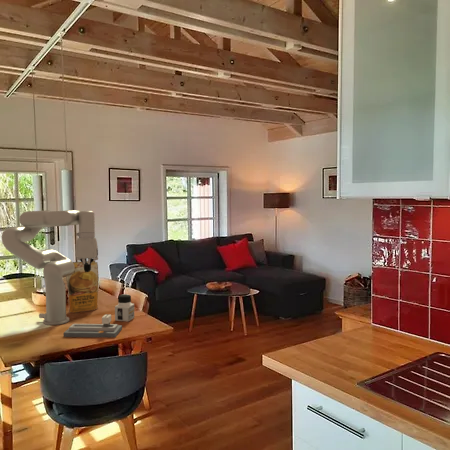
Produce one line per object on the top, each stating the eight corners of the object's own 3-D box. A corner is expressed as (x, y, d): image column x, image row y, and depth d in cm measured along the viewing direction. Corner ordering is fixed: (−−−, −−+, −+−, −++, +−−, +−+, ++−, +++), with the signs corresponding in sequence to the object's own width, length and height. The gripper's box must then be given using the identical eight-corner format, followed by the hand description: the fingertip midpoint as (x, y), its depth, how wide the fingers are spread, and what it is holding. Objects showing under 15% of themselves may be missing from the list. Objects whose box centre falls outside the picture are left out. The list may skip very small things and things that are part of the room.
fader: (102, 330, 197) (101, 317, 197) (105, 326, 202) (105, 314, 202) (108, 330, 197) (108, 317, 197) (111, 326, 202) (111, 314, 202)
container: (128, 321, 218) (128, 297, 218) (114, 320, 220) (114, 296, 219) (134, 317, 226) (134, 293, 225) (121, 316, 228) (120, 292, 227)
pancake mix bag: (64, 311, 237) (63, 262, 235) (98, 306, 247) (97, 259, 246) (67, 314, 231) (65, 263, 229) (101, 309, 242) (100, 261, 240)
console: (63, 336, 194) (63, 329, 194) (73, 328, 206) (73, 321, 206) (115, 337, 194) (115, 330, 194) (122, 329, 206) (121, 322, 206)
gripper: (69, 236, 207) (69, 273, 208) (99, 236, 206) (99, 273, 208) (74, 234, 214) (75, 270, 215) (104, 234, 214) (104, 270, 215)
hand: (87, 271), depth 211 cm, fingers closed
